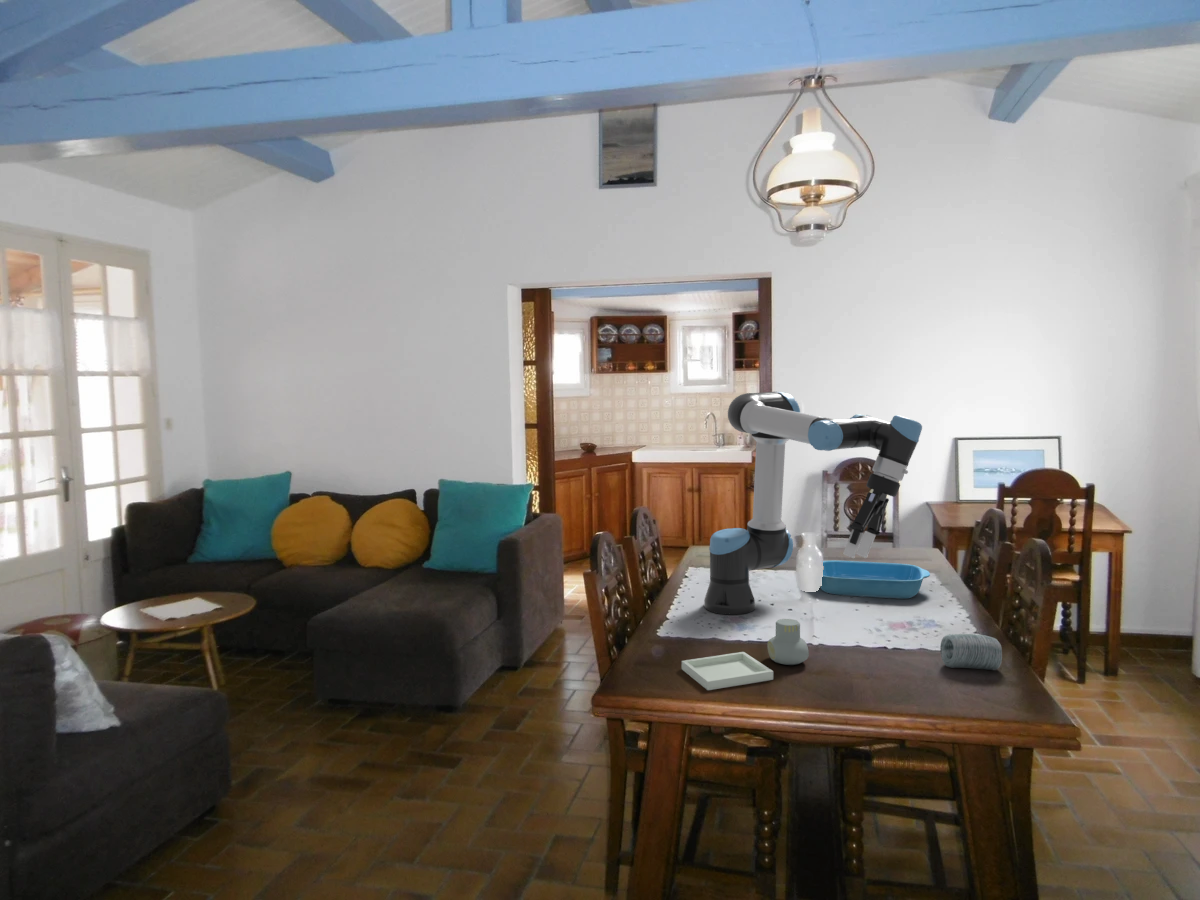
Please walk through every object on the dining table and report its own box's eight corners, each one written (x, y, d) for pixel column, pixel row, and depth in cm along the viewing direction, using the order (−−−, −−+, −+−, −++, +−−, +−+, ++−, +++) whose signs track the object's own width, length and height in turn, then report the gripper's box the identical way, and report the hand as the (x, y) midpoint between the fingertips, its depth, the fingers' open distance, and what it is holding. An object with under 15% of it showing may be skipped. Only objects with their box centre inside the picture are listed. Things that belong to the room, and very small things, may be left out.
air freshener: (765, 654, 209) (765, 615, 208) (797, 652, 210) (797, 614, 209) (777, 670, 199) (777, 629, 198) (811, 668, 199) (811, 628, 198)
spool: (938, 660, 194) (949, 619, 197) (933, 664, 203) (943, 626, 205) (1000, 680, 190) (1010, 639, 192) (992, 684, 198) (1001, 644, 201)
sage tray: (681, 670, 200) (681, 660, 200) (743, 661, 206) (743, 651, 206) (707, 692, 187) (707, 681, 187) (773, 681, 193) (773, 671, 193)
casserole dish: (806, 596, 261) (806, 574, 260) (811, 578, 282) (811, 557, 281) (931, 604, 249) (932, 581, 249) (927, 585, 270) (927, 563, 270)
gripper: (890, 478, 193) (857, 562, 194) (910, 486, 214) (879, 562, 216) (860, 467, 196) (827, 550, 198) (882, 476, 218) (852, 550, 219)
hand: (854, 556), depth 207 cm, fingers open, 13 cm apart
